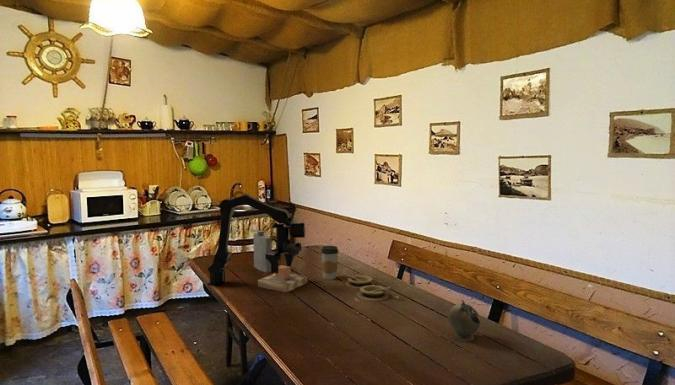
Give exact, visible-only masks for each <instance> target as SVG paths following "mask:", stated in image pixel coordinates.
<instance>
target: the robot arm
mask: <svg viewBox="0 0 675 385" xmlns="http://www.w3.org/2000/svg"><path fill="white" fill-rule="evenodd" d="M244 204H245V205H246V206H248V207H251V208H253V209H256V210H258V211H260V212H262V213H264V214H266V215H268V216H269V217H270V218H271V219H272V220H273V221H275V222H274V224H273V225H272V226H271V228H272V229H276V230H275V232H276V236H275V237H276V239H274V240H273V242H274V243H276V247H275V248H274V251H272V250H271V252H267V253H266V254H265V259H267V260H269V262H270V263H271V268H272V269H273V271H274V274H275V273H277V274H278V268H279V266H280V262H281V260H282V259H281V258H282V257H281V256H282V255H283V256H284V258H285V262H286V263H285V264H286V266H289V267H290V268H291V266H292V263H293V261H294V257H296V256H298V255H299V253H300V252H301V251H302V243H300V242H296V243H292V239H290V236H291V237H292V238H295V239H299V238H302V239H303V238H306V232H307V231H306V230H307V229H306V225H305V224H306V223H305V222H294V220H293V219H292V217H291V216H290V212H289V210H287V209H285V208H282V207H278V206H277V207H276V206H272V205H271V204H268V203H266V202H264V201H262V200H260V199H258V198H256V197H254V196H251V195H250V194H249V193H245V194H243V195H240V196H237V197H234V198H232V197H228V198H225V199H223V200H221V201H220V202H219V213H220V217H221V218H220V220H221V221H220V227H219V236H218V245H217V249H216V252H215V253H214V257H213V259H212V260H213V261H212V263H211V265H209V267H207V270H208V272H209V281H208V282H207V285H211V286H216V287H219V286H222V285H224V284H227V283H228V281H227V280H226V272H225V268H226V266H227V265H228V264H229V263H230V261H231V260H232V259H231V256H232V251H229V249H228V247H229V240H230V231H231V223H232V218H233V215H234V213H235V210H236V207H238V206H242V205H244Z"/></svg>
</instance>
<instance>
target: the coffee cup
mask: <svg viewBox="0 0 675 385" xmlns="http://www.w3.org/2000/svg"><path fill="white" fill-rule="evenodd" d="M320 250H321V252H320V253H321V267H322V268H321V269H322V277H323V279H324V280H328V281H330V280H331V281H332V280H335V279H337V270H338V258H339V248H338V247H337V246H335V245H323V246H322V247H321V249H320Z"/></svg>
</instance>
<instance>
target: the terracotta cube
mask: <svg viewBox="0 0 675 385" xmlns="http://www.w3.org/2000/svg"><path fill="white" fill-rule="evenodd" d="M291 270H292V269H291V267H289V266H287V265H283V264H281V265H279V268H278V274H277V273H275V272H274V274H275V278H276V279H281V280H285V279H288V278H290V277H291V274H292V273H291V272H292V271H291Z"/></svg>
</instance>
